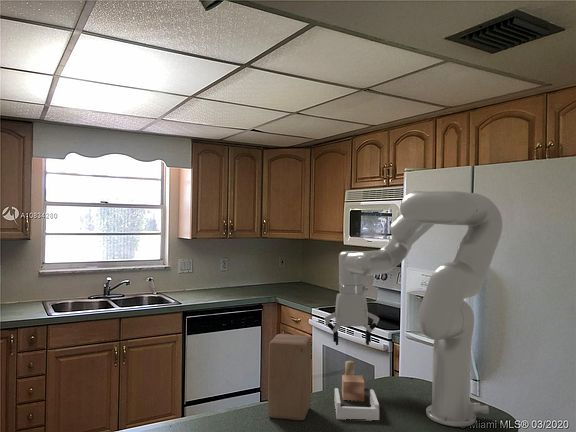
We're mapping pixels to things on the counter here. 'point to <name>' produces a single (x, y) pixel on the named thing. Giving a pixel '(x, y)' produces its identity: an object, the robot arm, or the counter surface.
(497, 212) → the robot arm
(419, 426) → the counter surface
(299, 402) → the wooden block
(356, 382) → the block
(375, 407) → the white u-shaped bracket
